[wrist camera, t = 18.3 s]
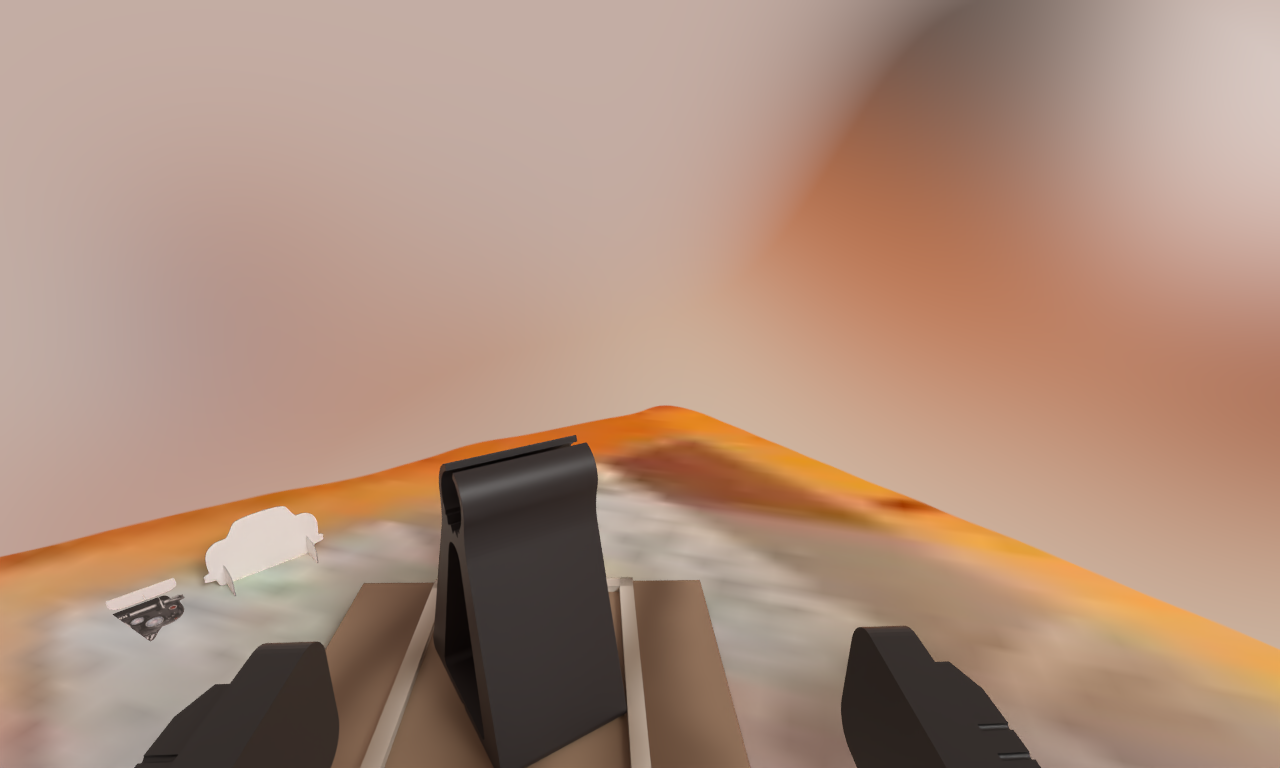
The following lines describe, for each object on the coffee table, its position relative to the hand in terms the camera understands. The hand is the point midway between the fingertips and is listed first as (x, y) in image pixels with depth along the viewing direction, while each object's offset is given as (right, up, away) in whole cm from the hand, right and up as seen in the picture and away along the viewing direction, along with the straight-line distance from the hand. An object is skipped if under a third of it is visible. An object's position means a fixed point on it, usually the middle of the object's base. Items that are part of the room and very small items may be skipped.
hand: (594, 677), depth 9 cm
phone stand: (-5, -10, +20) cm, 23 cm away
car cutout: (-26, -9, +26) cm, 37 cm away
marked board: (-5, -11, +20) cm, 23 cm away
